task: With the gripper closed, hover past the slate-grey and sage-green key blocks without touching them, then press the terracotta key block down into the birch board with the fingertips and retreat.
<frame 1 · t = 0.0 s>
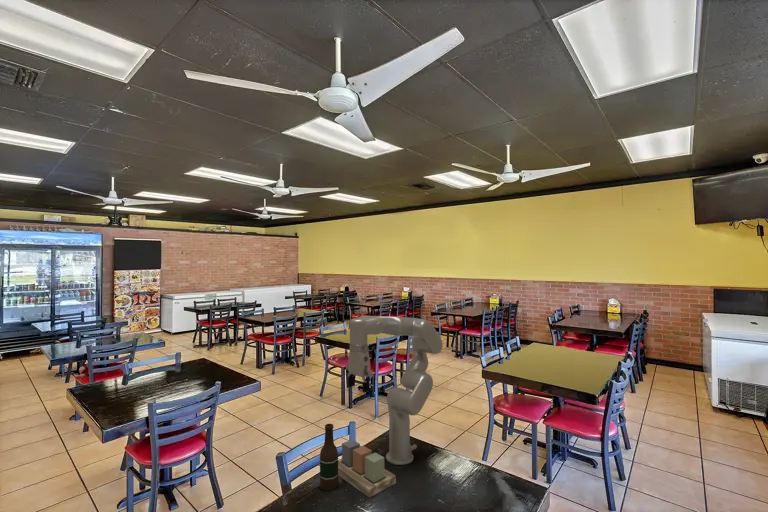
hand: (358, 388, 152), 37 cm above the table, tool pointing down, fingers open, 9 cm apart
birch board: (362, 476, 152), on the table
sage key: (374, 467, 146), point 7 cm above the table, slide at 0.0 cm
beer bottle: (328, 486, 146), on the table
slate key: (350, 452, 158), point 7 cm above the table, slide at 0.0 cm
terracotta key: (362, 459, 152), point 7 cm above the table, slide at 0.0 cm
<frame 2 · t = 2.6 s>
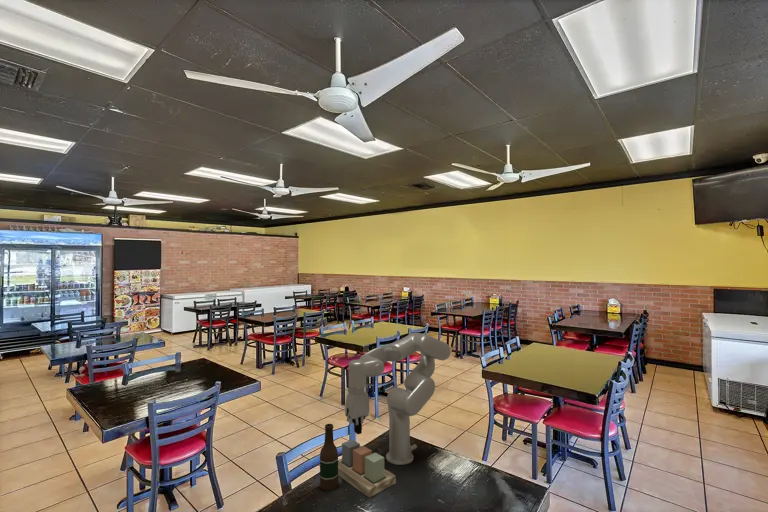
hand: (358, 432, 155), 17 cm above the table, tool pointing down, fingers closed
nothing on the table moved.
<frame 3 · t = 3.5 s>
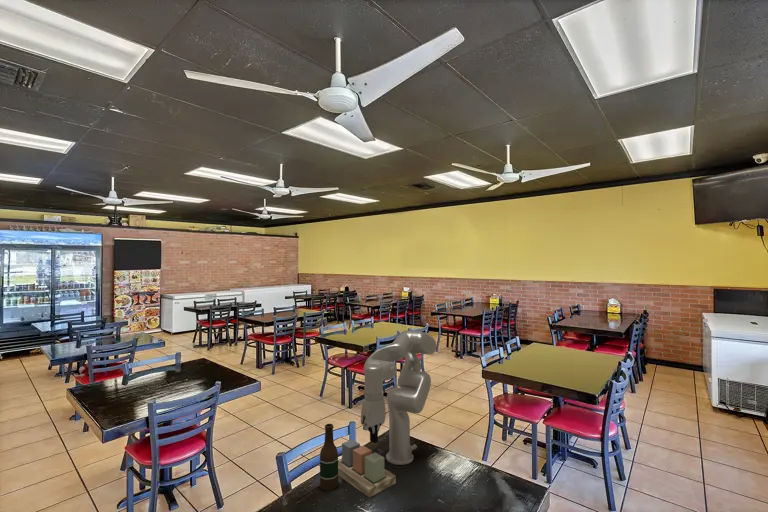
hand: (373, 441, 147), 17 cm above the table, tool pointing down, fingers closed
nothing on the table moved.
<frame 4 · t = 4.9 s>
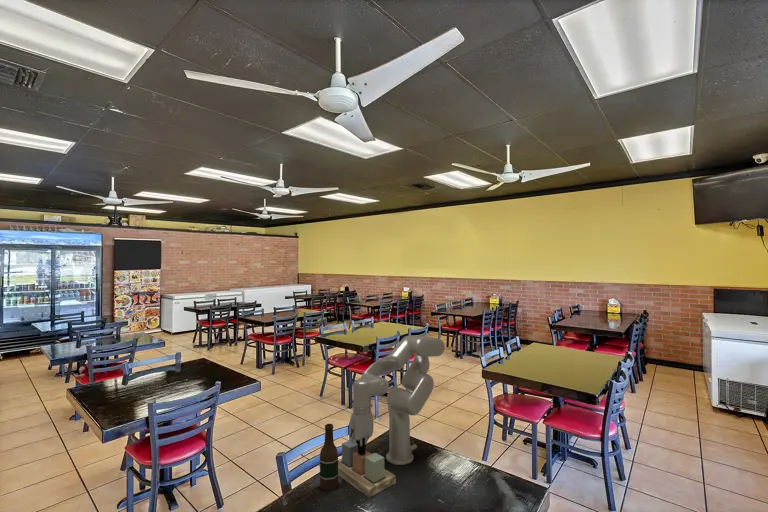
hand: (361, 453, 152), 9 cm above the table, tool pointing down, fingers closed
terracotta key: (362, 463, 152), point 5 cm above the table, slide at 1.5 cm, touching gripper
everything else where it was.
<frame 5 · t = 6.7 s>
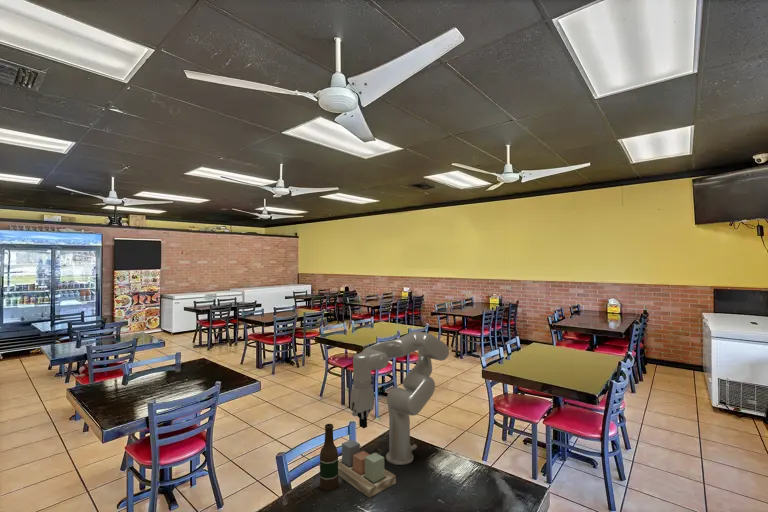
hand: (363, 426, 154), 20 cm above the table, tool pointing down, fingers closed
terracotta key: (362, 465, 152), point 5 cm above the table, slide at 2.1 cm
everything else where it was.
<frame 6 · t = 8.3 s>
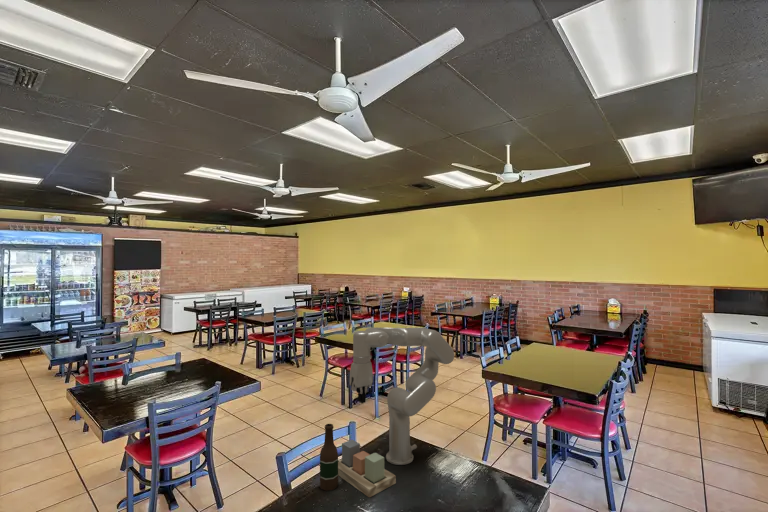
hand: (361, 401, 158), 29 cm above the table, tool pointing down, fingers closed
nothing on the table moved.
at the end: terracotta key slide at 2.1 cm; slate key slide at 0.0 cm; sage key slide at 0.0 cm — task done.
